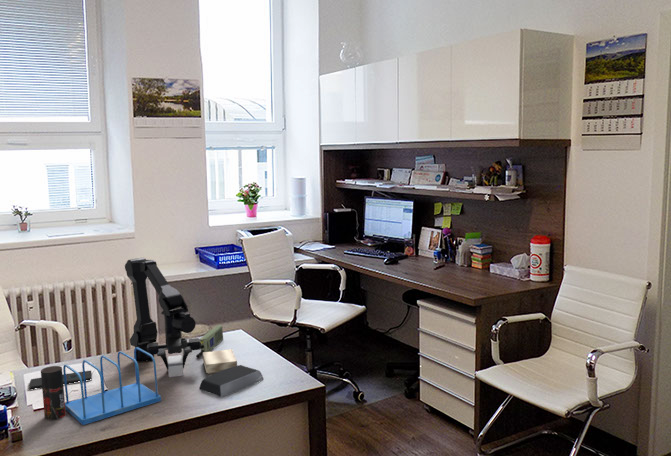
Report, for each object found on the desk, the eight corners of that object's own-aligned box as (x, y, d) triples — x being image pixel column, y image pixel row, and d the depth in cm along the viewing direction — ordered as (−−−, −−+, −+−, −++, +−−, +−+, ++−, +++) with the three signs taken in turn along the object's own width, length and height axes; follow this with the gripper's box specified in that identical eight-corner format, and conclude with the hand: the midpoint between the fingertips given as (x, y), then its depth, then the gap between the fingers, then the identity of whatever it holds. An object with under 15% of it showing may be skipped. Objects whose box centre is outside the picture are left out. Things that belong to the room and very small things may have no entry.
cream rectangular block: (206, 375, 221) (206, 364, 221) (203, 362, 234) (202, 352, 234) (237, 371, 224) (236, 361, 224) (232, 359, 237) (231, 349, 237)
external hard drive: (265, 381, 216) (265, 369, 215) (222, 399, 201) (222, 387, 201) (240, 373, 224) (239, 362, 224) (197, 389, 209) (196, 378, 209)
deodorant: (48, 412, 192) (45, 366, 190) (68, 411, 193) (64, 365, 191) (41, 421, 186) (37, 373, 184) (61, 419, 187) (57, 372, 185)
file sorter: (139, 387, 212) (136, 344, 210) (161, 402, 199) (159, 356, 197) (63, 408, 196) (59, 362, 194) (82, 426, 183) (78, 376, 181)
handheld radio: (224, 339, 263) (202, 359, 238) (217, 339, 263) (194, 359, 239) (223, 324, 262) (200, 343, 238) (216, 324, 263) (192, 343, 238)
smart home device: (91, 377, 218) (28, 386, 211) (92, 382, 218) (29, 391, 211) (91, 369, 226) (30, 378, 218) (91, 374, 226) (31, 383, 218)
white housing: (168, 377, 220) (168, 363, 219) (168, 369, 228) (167, 356, 227) (183, 375, 222) (182, 362, 221) (182, 367, 229) (181, 354, 229)
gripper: (146, 336, 212) (148, 380, 214) (201, 331, 217) (203, 373, 220) (146, 328, 223) (148, 369, 225) (198, 322, 228) (200, 363, 230)
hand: (175, 369), depth 225 cm, fingers closed on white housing, 5 cm apart
